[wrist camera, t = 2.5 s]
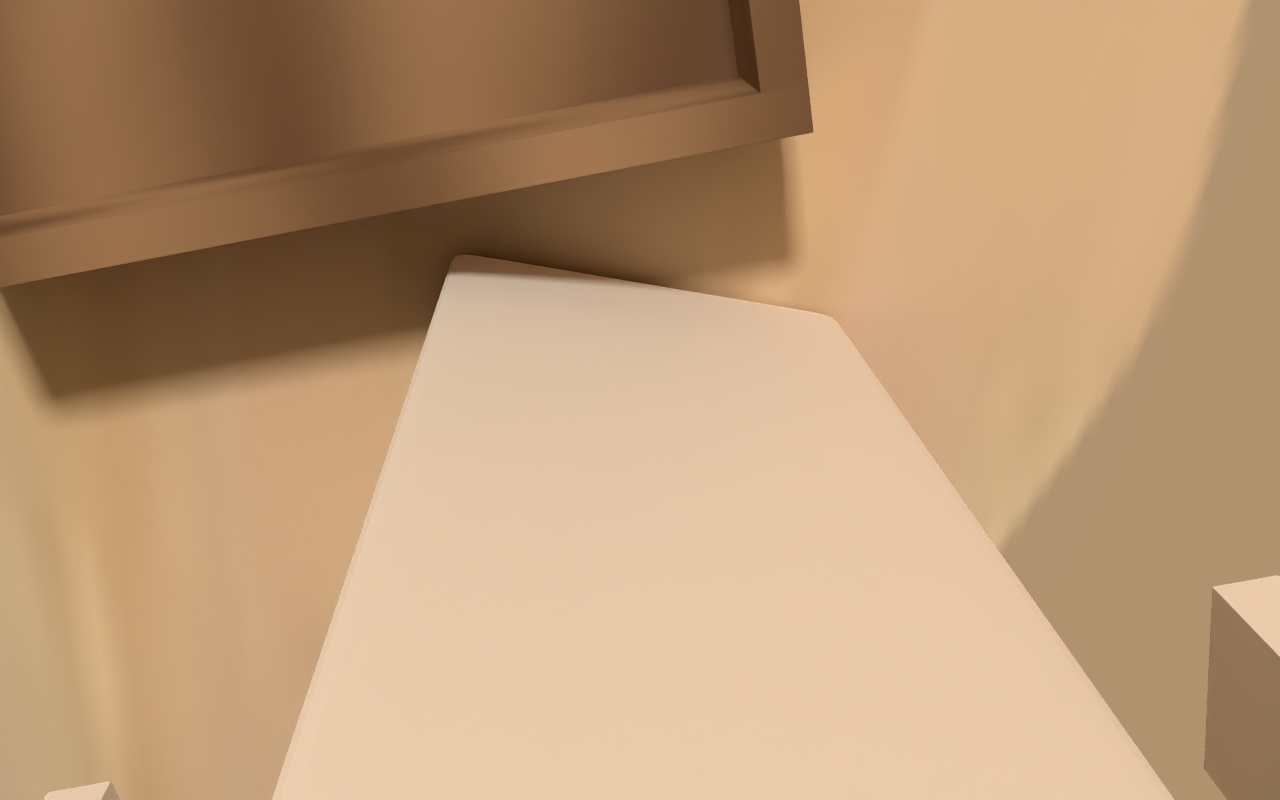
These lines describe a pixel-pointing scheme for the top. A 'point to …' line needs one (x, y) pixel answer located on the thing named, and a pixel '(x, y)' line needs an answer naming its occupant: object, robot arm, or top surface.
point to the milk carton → (679, 577)
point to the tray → (354, 110)
